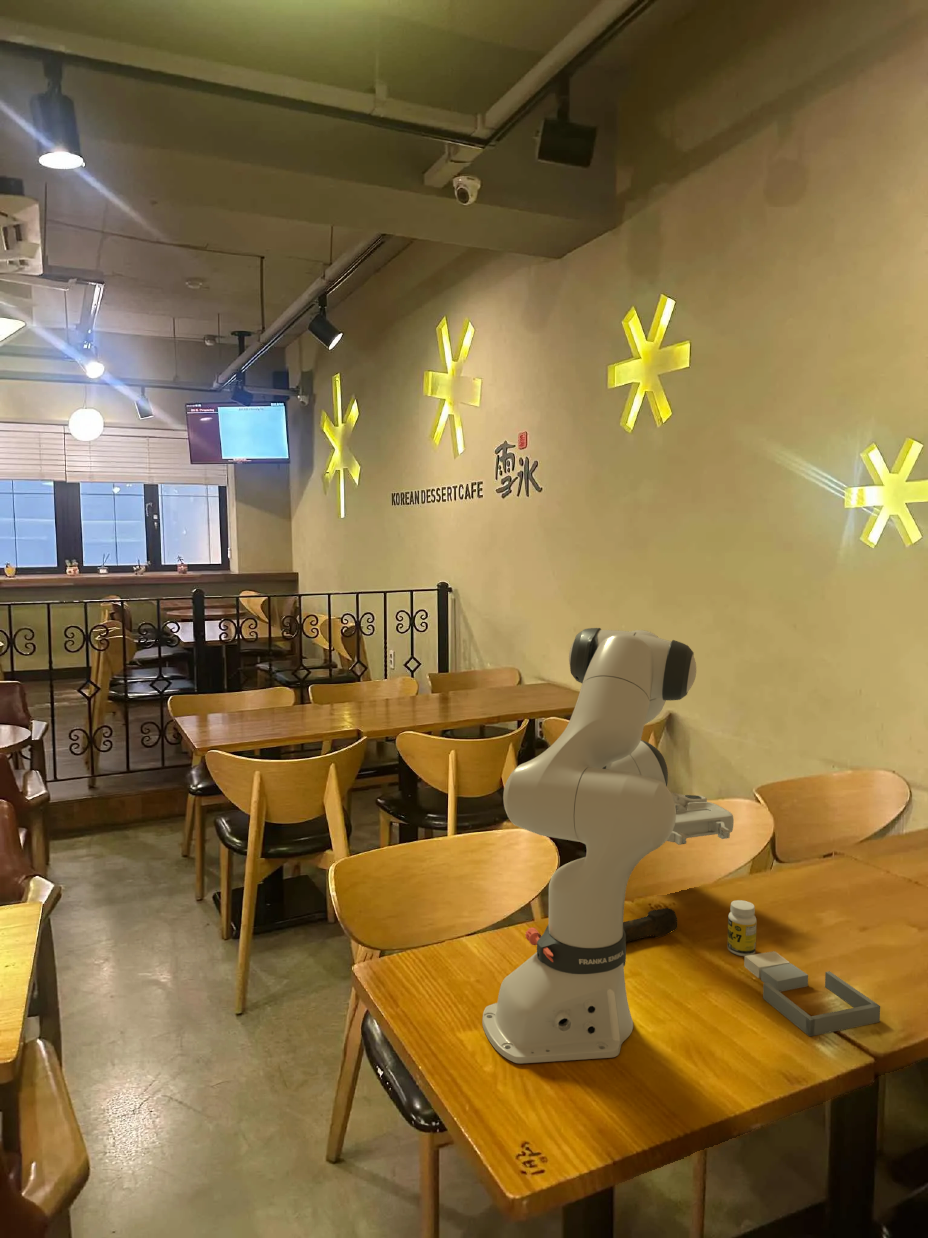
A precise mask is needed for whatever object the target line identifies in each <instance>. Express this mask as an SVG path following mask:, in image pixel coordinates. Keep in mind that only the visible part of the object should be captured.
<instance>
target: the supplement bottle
mask: <svg viewBox="0 0 928 1238" xmlns="http://www.w3.org/2000/svg"><path fill="white" fill-rule="evenodd" d="M729 908H730V912H729V913H728V917H727V919H728V920H727V950H728V951H729V952H730V953H732V954H734V955H737V956H740V957H745V956H747V955H754V954H756V949H757V947H756V944H757V918H756V915H755V914H756V913H755V911H756V910H755V905H754V904H753V902H750V901H746V900H741V899H737V900H733V901H731V903H730V907H729Z"/></svg>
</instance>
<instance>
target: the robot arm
mask: <svg viewBox="0 0 928 1238" xmlns="http://www.w3.org/2000/svg"><path fill="white" fill-rule="evenodd" d="M694 653H695V652H694V651H693V650H692V648H690V646H689V645H688V644H686V643H684V642H681V641H678V640H674V639H672V640H667V639H664V638H661V637H659V636H658V635H656V634H655V633H653V632H651V631H648V630H643V629H635V630H631V631H629V630H619V629H618V630H617V629H614V630H613V629H602V628H600V627H589V628H584V629H582V631H579V632H578V633H577V634H576V635H575V638H574V640H573V642H572V644H571V646H570V649H569V653H568V662H569V663H568V664H569V670H570V674H571V675H572V677H573V678H574V679H575V681H576V682H578V683H580V684H581V687H580V691H579V694H578V696H577V699H576V700H577V701H576V703H575V706H574V709H573V710H572V714H571V716H570V719H569V722H568V724H567V726H566V727H565V729H564V730H563V732H562V733H561V734H560V735H559V737H558V738H557V739H556V740H555V741H554V742H553V743H552V744H551V745H550V746H549V747H548V748H547V749H545V750H544V751H543V752H542V753H540V754H539V755H537V756H536V757H533V758H531V759H530V760H528V761H526V762H523V763H521V764H519V765H518V766H516V767H515V768H514V769H513V770H512V771H511V773H510V775H509V776H508V778H507V780H506V782H505V784H504V788H503V794H502V795H503V796H502V799H503V800H502V801H503V807H504V810H505V813H506V816H507V818H508V819H509V821H510V823H512V824H513V825H514V826H516V827H518V828H520V829H524V830H526V831H528V832H531V833H533V834H535V835H539V836H543V837H549V838H554V839H560V840H565V841H567V840H568V841H572V842H578V843H579V842H580V843H582V844H584V845H585V847H586V855H585V856H584V857H580V858H577V859H575V860H571V861H570V862H568V863H565V864H563V865H562V866H560V867H559V868H557V869H556V870H555V871H554V873H553V874H552V876H551V878H550V880H549V884H548V925H547V926H546V928H545V930H544V931H543V934H541V933H540V932H539V931H538V930H537V928H535V927H529V928H528V929H527V930H526V931H525V934H524V935H525V939H526V940H527V941H528V942H529V943H530V945H532V946H536V952H534V954H533V955H531V956H530V957H528V959H527V960H526V961H524V962H523V963H522V964H520V965H519V966H518V967H517V968H515V969H514V970H513V971H512V972H510V974H508V975H507V976H505V977H504V978H503V980H502V982H501V984H500V987H499V991H498V997H497V1002H494V1003H492V1004H489V1005H486V1007H485V1008H484V1010H483V1013H482V1019H481V1020H482V1027H483V1031H484V1033H485V1035H486V1037H487V1040H488V1041H489V1042H490V1044H491V1045H492V1046H493V1048H494V1049H495V1050H496V1051H497V1053H499V1054H500V1055H501V1056H503V1058H505V1059H507V1060H508V1061H510V1062H513V1063H514V1064H536V1063H548V1062H549V1063H551V1062H565V1061H576V1060H578V1061H579V1060H591V1059H592V1060H593V1059H607V1058H610V1059H611V1058H615V1057H618V1056H619V1054H620V1051H621V1047H622V1044H623V1042H624V1041H626V1040H627V1039H628V1038H629V1036H630V1035H631V1034H632V1032H633V1029H634V1021H633V1018H632V1014H631V1011H630V1007H629V1002H628V994H627V988H626V981H625V966H626V962H627V942H626V934H625V931H624V929H623V922H624V915H625V914H624V912H625V911H624V910H625V898H626V891H627V886H628V881H629V879H630V877H631V875H632V872H633V871H634V869H635V867H636V866H637V865H638V864H639V862H641V860H642V859H644V858H645V857H646V856H648V855H649V854H651V853H652V852H653V851H655V850H658V849H659V848H660V847H661V846H663V845H664V844H665V843H666V842H670V843H674V844H676V845H679V846H680V845H685V844H686V845H687V839H690V838H691V839H692V838H697V837H706V836H714V835H717V837H718V838H720V839H721V840H724V839H725V840H727V839H730V836H731V835H730V834H731V833H732V832H733V830H734V823H735V822H734V814H733V813H732V812H731V811H729V810H727V809H726V808H724V807H722V806H720V805H719V804H716V803H713V802H711V801H708V799H707V797H705V796H703V795H696V794H695V795H694V794H693V795H691V794H686V795H685V794H682V793H677V792H671V791H670V790H669V787H668V780H669V772H668V767H667V762H666V760H665V758H664V756H663V754H662V753H661V751H660V750H659V749H658V748H657V747H656V746H654V745H653V744H651V743H650V742H648V741H646V740H643V739H642V736H643V733H644V728H645V725H646V724H648V723H650V722H651V721H652V720H654V719H655V718H657V716H658V715H659V714H660V713H661V712H662V710H663V708H664V706H665V704H666V701H680V700H682V699H683V698H685V697H686V696H688V693H689V691H690V690H691V688H692V686H693V685H694V682H695V680H696V677H697V663H696V658H695V656H694V655H695V654H694Z"/></svg>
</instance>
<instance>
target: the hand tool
mask: <svg viewBox="0 0 928 1238" xmlns="http://www.w3.org/2000/svg"><path fill="white" fill-rule="evenodd" d="M623 929H624V931H625V934H626V943H628V942H629V943H630V942H631V941H632V942H633V941H636V940H639V939H644V938H647V937H653V938H655V937H658V938H660V937H661V938H662V937H664V936H666V934H667V935H668V933H669V934H671V933H672V932H671V931H673V930H674V931H676V930H677V929H678V917H677V915H676V912H675V910H673V909H672V908H669V907H665V908H663V907H662V908H660V909H652V910H650V911H648V912H647V915H646V916H644V917H640V918H635V919H634V918H633V919H631V920H627V921H623ZM674 931H673V932H674ZM670 932H671V933H670Z"/></svg>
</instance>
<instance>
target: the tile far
mask: <svg viewBox="0 0 928 1238" xmlns="http://www.w3.org/2000/svg"><path fill="white" fill-rule="evenodd" d="M743 957H744V958H743V959H744V961H743V963H744V965H743V967H745V968H746V970H748V971H749V972H750V973H751V974H753V975H754V976H755V977H756V978H757V979H761V969H765V968H770V967H776V966H781V965H786V964H791V963H790V961H789V960H787V959H786V958H785V957H784V956H782V955H780V954H779V953H778V952H777V951H775V950H774V951H768V952H767V951H766V952H761V953H754V954H753V955H747V956H743Z"/></svg>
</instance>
